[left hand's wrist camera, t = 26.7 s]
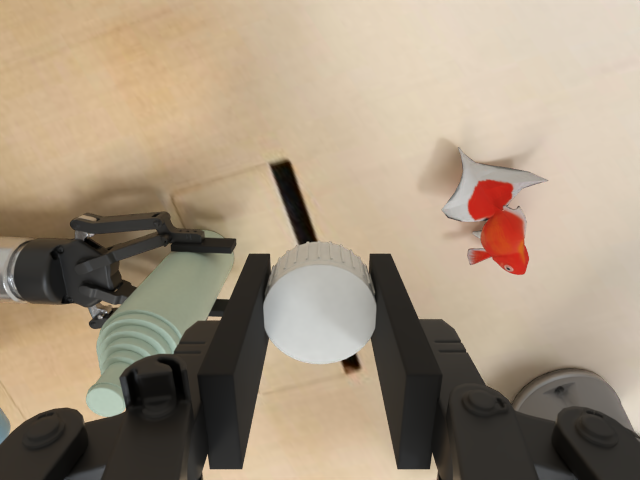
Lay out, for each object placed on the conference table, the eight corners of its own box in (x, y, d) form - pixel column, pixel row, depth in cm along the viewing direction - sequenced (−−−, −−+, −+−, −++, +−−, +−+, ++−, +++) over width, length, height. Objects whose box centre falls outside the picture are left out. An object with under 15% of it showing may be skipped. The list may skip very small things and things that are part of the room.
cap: (309, 348, 16) (308, 383, 14) (246, 278, 14) (235, 306, 13) (391, 297, 15) (402, 327, 13) (330, 218, 14) (333, 238, 12)
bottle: (183, 282, 52) (66, 444, 28) (173, 230, 50) (36, 361, 26) (237, 280, 52) (166, 440, 28) (230, 228, 50) (146, 357, 26)
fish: (438, 290, 47) (494, 288, 38) (408, 166, 49) (455, 133, 39) (510, 272, 50) (580, 266, 41) (480, 155, 52) (540, 123, 42)
